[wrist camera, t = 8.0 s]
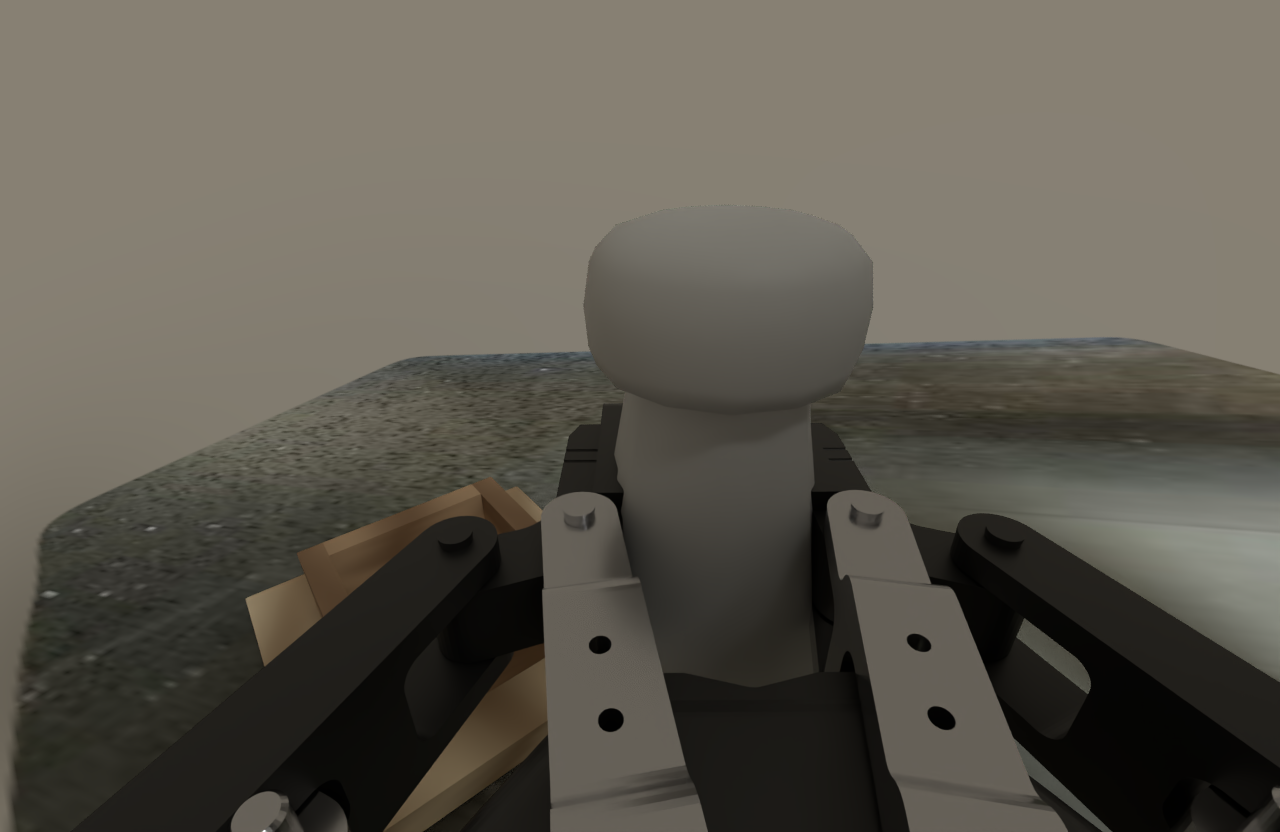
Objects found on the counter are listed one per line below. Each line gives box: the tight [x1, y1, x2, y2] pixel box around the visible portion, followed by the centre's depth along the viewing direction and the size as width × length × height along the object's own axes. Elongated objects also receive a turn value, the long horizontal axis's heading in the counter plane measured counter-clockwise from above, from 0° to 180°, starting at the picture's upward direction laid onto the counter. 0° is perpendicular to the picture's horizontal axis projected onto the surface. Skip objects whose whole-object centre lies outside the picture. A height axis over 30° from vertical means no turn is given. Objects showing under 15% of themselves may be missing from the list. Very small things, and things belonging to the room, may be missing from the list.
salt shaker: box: [584, 205, 873, 687], centre depth 12 cm, size 6×6×13 cm
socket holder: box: [246, 477, 548, 832], centre depth 29 cm, size 16×16×5 cm
